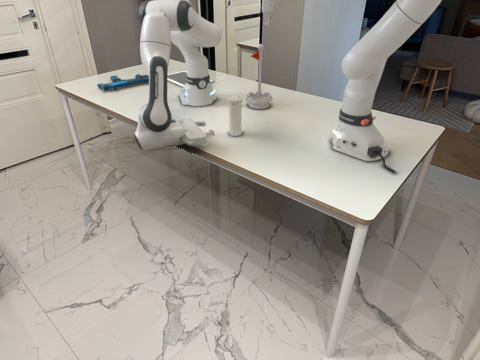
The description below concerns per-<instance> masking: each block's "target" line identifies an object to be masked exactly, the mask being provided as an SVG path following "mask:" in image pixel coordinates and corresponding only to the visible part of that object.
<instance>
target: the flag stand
mask: <svg viewBox="0 0 480 360" xmlns="http://www.w3.org/2000/svg"><path fill="white" fill-rule="evenodd" d="M264 48H265V47H264V44H262V43H259V44H258V45H257V50H258V51H256V52H254V53H253V54H251V55H250V57H251V58H253V59H255V60H257V61H258V76H257V90H256V92H254V91H249V92H248V93H246V95H245V97H246V98H245V99H246V102H247V103H248V104H247V105H248V107H249V108H251V109H254V110H264V109H267V108H269V107H270V105H271V104H270V103H271V102H272V101H273V94H271V93H270V92H268V91H265V92H262V72H263V71H262V70H263V69H262V67H263V50H264Z"/></svg>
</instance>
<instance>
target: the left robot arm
mask: <svg viewBox="0 0 480 360" xmlns="http://www.w3.org/2000/svg"><path fill="white" fill-rule="evenodd" d="M137 18H138V21H139V24H140V25H141V29H140V39H139V52H140V53H139V54H140V62H141V64H142V65H143V66H144V68H145V70H146V71H147V75H148V76H149V82H148V102H147V103H145V104H143V105H142V106H141V107H140V109H139V110H138V122H137V126H136V129H135V132H134V135H133V136H134V140H135V142H136V144H137V146H138V148H139V149H140V150H141V151H142V152H154V151H159V150H163V149H165V148H174V147H178V146H182V145H188V146H189V147H196V146H197V147H198V146H203V145H206V144H208V139H209V138H210V137H211V136H215V131H214V130H213V129H209V130H208V131H207V132H206V131H203V130H202V129H201V128H200V127H202V128H203V127H206V126H207V123H206V122H205V121H204V120H203V121H197V120H196V121H194V120H193V119H192V117H181V118H177V119H175V118H173V116H172V111H171V109H170V106H169V103H168V102H169V101H168V80H167V74H169V66H170V59H171V49H172V48H171V47H172V44H173V45H174V46H176V48H178V50H179V51H180V52H181V55H182V56H183V57H184V58H183V59H184V62H185V68H186V69H185V71H187V76H186V84H185V85H184V86H183V87H182V88H181V89H180V94H179V98H180V101H181V104H182V105H183V106H191V107H204V106H205V107H206V106H210V105H211V104H213V103H214V102H215V101H216V100H217V96H215V94H214V93H216V89H214V87H213V84H212V82H210V80H211V76H210V73H209V71H210V70H209V61H208V58H207V57H206V55H204V54H203V53H201V52H200V51H199V50H198V48H213V47H217V46H218V45H219V44H220V43H221V41H222V30H221V28H220V26H219V25H218V24H216V23H213V22H211V21H209V20H207V19H205V18H204V17H203V16H201V15H200V14H198V13H197V10H195V8H194V6H193V5H192V3H191V2H190V0H143V1H141V3H140V4H139V6H138V9H137Z"/></svg>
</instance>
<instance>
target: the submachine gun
mask: <svg viewBox="0 0 480 360" xmlns="http://www.w3.org/2000/svg"><path fill="white" fill-rule="evenodd" d="M109 77H110V80H112V82H108V83H102V82H101V83H96V86H97V88H99V89H100V90H101V91H109V90H112V91H113V90H114V91H117V89H119V88H124V87H125V88H126V87H128V86H133V85H138V84H142V83H149V75H148V74H143V75H142V74H140V73H137V74H136V75H134V78H128V79H126V78H125V79H121V77H118V75H111V76H109Z"/></svg>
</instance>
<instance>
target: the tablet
mask: <svg viewBox="0 0 480 360" xmlns="http://www.w3.org/2000/svg"><path fill="white" fill-rule="evenodd" d="M186 76H187V70H180V71H175V72H171V73H168V74H167V82H170V83H173V84H175V85H177V86H179V87H181V88H183V86H184V85H185V84H186ZM214 82H215V81H214V80H212V79H210V83H214Z"/></svg>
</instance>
